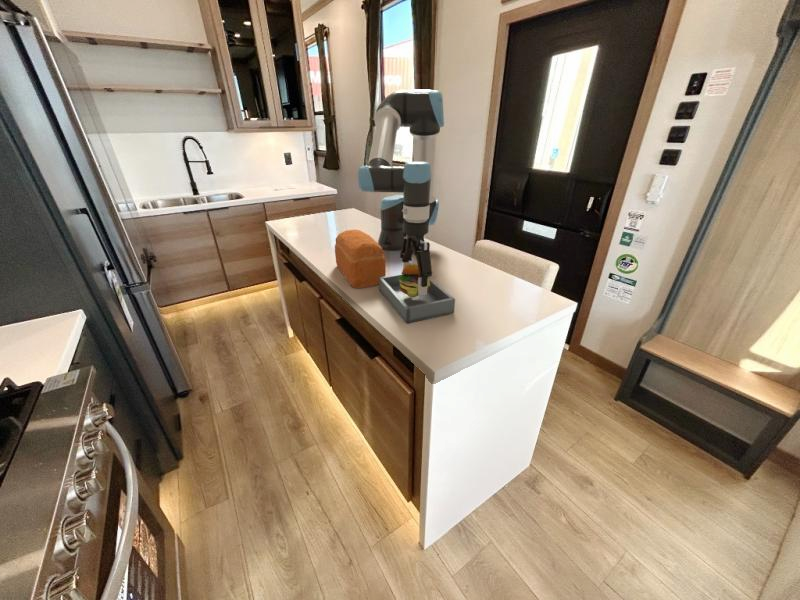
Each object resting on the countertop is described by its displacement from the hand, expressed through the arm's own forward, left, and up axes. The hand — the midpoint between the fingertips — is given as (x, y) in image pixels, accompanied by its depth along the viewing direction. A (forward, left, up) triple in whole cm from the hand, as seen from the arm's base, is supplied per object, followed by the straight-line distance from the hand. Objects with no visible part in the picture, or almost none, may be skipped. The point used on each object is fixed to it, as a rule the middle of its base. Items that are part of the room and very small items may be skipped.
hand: (414, 287), depth 103 cm
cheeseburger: (0, 0, -1) cm, 1 cm away
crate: (0, 0, -5) cm, 5 cm away
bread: (-29, -10, -5) cm, 31 cm away
